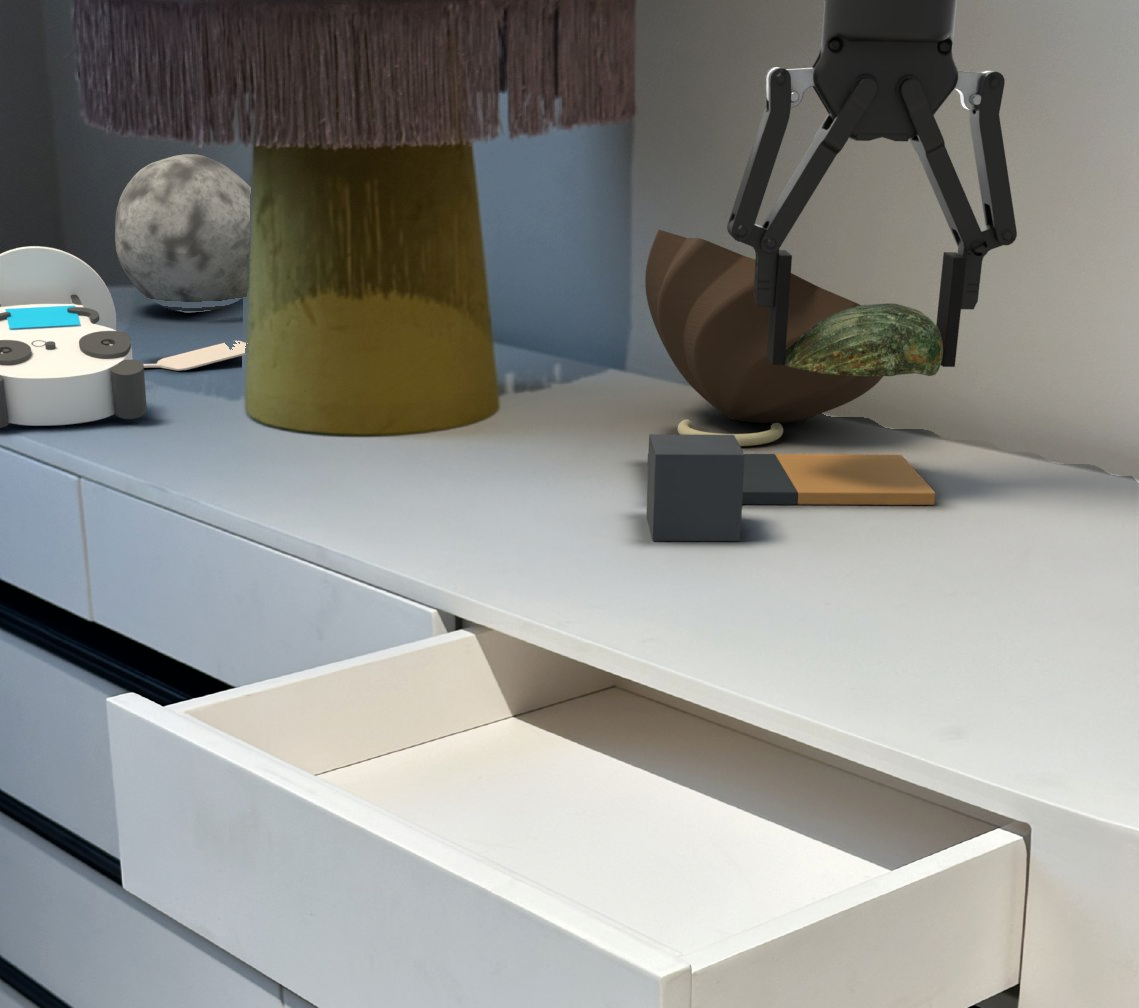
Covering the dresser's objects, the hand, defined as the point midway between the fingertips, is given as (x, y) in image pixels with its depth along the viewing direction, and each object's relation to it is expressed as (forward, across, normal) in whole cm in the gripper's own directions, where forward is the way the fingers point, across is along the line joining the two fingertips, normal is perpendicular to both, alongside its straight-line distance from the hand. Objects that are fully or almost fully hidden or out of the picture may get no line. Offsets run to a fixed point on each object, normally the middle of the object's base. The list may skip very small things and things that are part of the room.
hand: (859, 361), depth 105 cm
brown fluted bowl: (-2, +2, -19) cm, 19 cm away
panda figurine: (+2, +58, -29) cm, 65 cm away
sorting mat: (+8, +4, 0) cm, 9 cm away
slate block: (+8, +11, +10) cm, 17 cm away
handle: (+7, +7, -10) cm, 14 cm away
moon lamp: (+1, +56, -60) cm, 82 cm away
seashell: (0, 0, 0) cm, 0 cm away
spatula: (+8, +57, -35) cm, 68 cm away
